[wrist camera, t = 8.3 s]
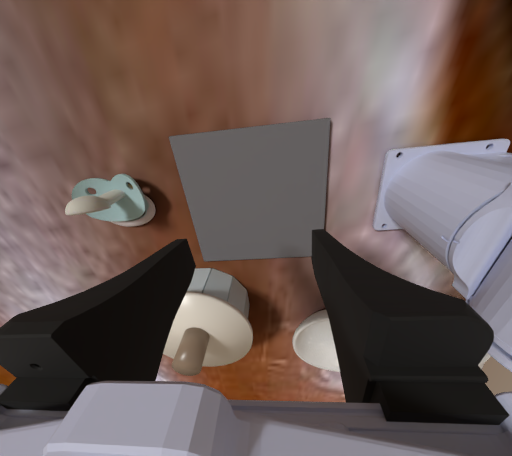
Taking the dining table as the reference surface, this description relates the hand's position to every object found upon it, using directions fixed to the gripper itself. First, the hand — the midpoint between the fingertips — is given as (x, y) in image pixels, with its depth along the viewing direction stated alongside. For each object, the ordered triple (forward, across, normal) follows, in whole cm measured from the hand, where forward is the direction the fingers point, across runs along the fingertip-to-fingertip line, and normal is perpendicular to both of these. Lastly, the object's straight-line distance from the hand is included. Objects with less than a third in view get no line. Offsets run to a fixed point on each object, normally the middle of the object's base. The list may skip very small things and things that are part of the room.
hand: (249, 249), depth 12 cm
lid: (+5, +9, +15) cm, 18 cm away
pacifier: (+11, +14, 0) cm, 18 cm away
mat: (+10, 0, +1) cm, 10 cm away
